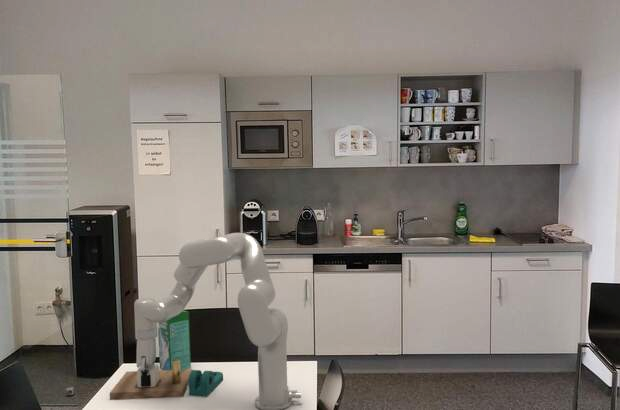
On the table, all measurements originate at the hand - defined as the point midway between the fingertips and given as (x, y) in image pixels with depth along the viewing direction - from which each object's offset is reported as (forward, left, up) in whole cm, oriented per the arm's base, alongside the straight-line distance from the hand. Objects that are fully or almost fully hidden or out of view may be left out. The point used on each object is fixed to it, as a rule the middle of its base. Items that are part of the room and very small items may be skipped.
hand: (148, 382), depth 195 cm
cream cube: (0, 0, -1) cm, 1 cm away
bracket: (-21, -2, -4) cm, 21 cm away
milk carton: (-5, -22, -3) cm, 23 cm away
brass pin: (-10, 0, -1) cm, 10 cm away
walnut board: (-1, -3, -3) cm, 4 cm away
